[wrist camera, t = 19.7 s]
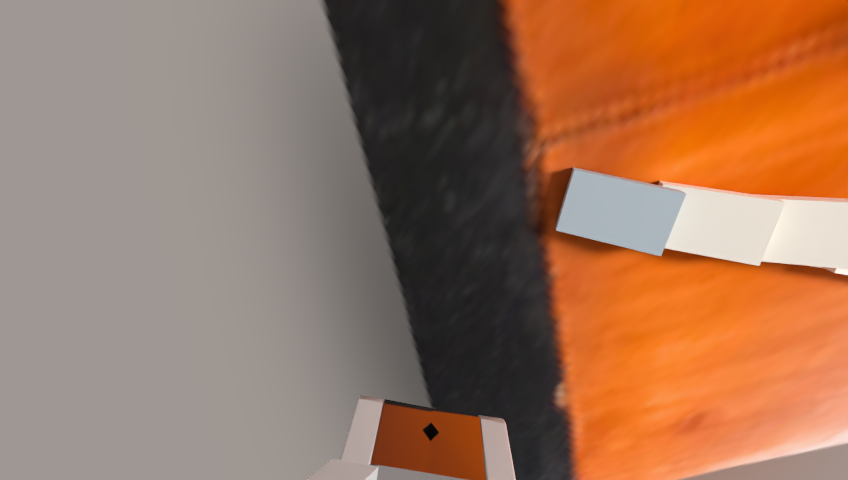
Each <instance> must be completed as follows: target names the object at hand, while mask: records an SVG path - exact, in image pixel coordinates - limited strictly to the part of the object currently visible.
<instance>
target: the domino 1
mask: <svg viewBox="0 0 848 480" xmlns="http://www.w3.org/2000/svg"><path fill="white" fill-rule="evenodd" d="M685 196H686V193H684V192H683V191H681V190H678V189H673V188H669V187H664V186H659V185H655V184H650V183H645V182H640V181H636V180H631V179H626V178H622V177H617V176H612V175H607V174H603V173H598V172H593V171H589V170H584V169H579V168H574V167H573V169H572V172H571V176H570V179H569V182H568V186H567V189H566V192H565V196H564V199H563V202H562V206H561V209H560V212H559V216H558V219H557V222H556V231H560V232H564V233H568V234H572V235H576V236H580V237H584V238H588V239H592V240H596V241H600V242H605V243H609V244H613V245H617V246H621V247H625V248H629V249H633V250H637V251H641V252H645V253H649V254H653V255H658V256H661V255H662V253H663V250H664V248H665V245H666V243H667V240H668V238H669V236H670V233H671V231H672V228H673V226H674V223H675V221H676V218H677V216H678V213H679V211H680V208H681V206H682V203H683V201H684V198H685Z"/></svg>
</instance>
